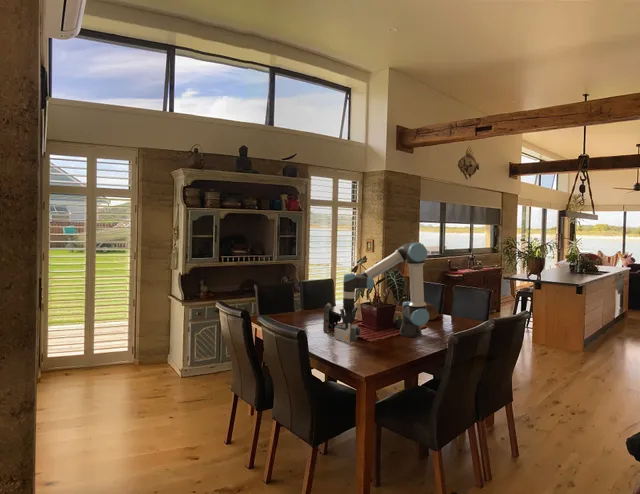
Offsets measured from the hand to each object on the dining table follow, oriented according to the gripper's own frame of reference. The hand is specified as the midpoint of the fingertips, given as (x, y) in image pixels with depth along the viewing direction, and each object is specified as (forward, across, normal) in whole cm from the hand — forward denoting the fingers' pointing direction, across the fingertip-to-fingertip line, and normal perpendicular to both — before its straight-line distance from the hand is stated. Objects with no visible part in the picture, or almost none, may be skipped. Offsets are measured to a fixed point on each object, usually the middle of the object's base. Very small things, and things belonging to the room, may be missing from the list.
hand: (348, 333), depth 277 cm
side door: (+5, +3, -3) cm, 7 cm away
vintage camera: (+6, -6, -25) cm, 26 cm away
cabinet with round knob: (+5, -4, -8) cm, 11 cm away
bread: (+5, -91, -30) cm, 96 cm away
